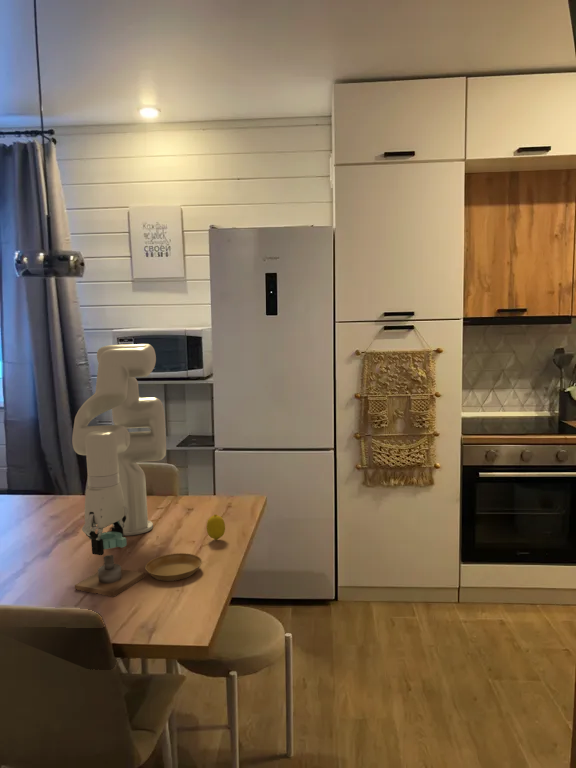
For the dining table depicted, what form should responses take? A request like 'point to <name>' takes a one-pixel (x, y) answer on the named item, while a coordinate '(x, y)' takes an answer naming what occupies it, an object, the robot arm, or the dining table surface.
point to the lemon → (215, 527)
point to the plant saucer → (173, 566)
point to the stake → (109, 579)
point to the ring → (113, 540)
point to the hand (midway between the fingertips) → (108, 548)
